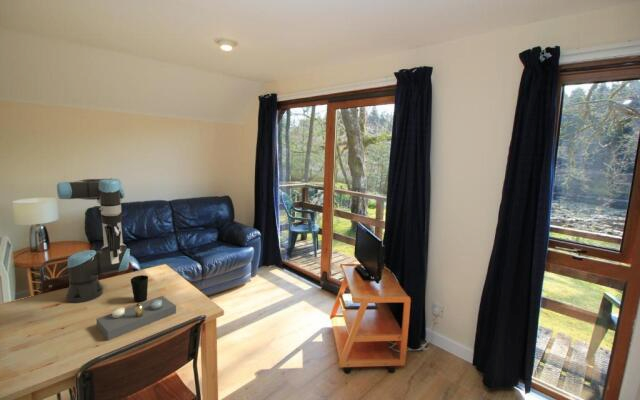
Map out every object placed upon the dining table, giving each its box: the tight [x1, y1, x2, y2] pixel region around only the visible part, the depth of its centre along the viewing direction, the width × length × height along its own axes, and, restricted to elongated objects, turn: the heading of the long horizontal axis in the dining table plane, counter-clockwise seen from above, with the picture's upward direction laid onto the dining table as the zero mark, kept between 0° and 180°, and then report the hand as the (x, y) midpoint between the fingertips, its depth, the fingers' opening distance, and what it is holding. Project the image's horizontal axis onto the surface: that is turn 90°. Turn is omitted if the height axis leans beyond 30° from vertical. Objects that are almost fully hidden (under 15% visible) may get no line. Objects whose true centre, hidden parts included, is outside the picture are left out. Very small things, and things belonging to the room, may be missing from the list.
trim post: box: [134, 302, 143, 318], centre depth 134 cm, size 3×3×6 cm
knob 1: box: [111, 306, 126, 319], centre depth 133 cm, size 5×5×6 cm
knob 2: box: [150, 300, 162, 310], centre depth 141 cm, size 5×5×6 cm
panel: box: [96, 295, 177, 341], centre depth 138 cm, size 14×28×4 cm, turn 142°
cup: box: [130, 274, 149, 304], centre depth 154 cm, size 8×8×12 cm
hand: (115, 262), depth 139 cm, fingers closed
